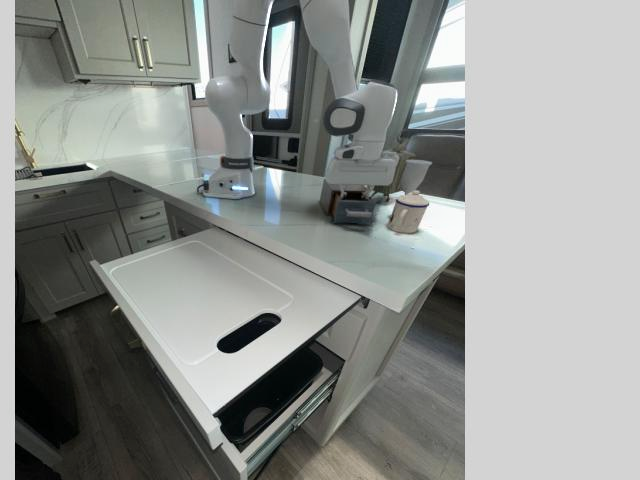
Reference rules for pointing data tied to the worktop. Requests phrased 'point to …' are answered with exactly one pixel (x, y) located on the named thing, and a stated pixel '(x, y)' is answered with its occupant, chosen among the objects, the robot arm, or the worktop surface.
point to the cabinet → (330, 189)
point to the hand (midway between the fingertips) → (353, 198)
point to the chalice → (414, 174)
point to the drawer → (352, 208)
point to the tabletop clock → (396, 169)
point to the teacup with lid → (408, 212)
